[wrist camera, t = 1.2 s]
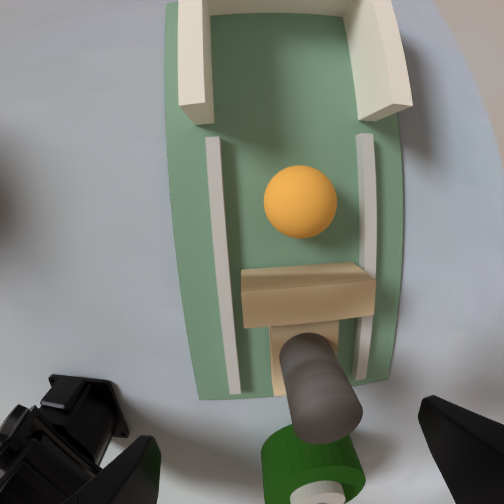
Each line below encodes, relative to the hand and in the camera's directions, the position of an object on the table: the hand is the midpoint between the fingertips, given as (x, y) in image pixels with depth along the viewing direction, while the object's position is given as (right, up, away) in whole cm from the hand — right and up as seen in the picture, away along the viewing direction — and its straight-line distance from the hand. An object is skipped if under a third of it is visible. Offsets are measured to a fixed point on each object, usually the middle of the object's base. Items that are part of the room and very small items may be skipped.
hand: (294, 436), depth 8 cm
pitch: (+1, +10, +10) cm, 14 cm away
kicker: (+2, +1, +12) cm, 12 cm away
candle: (+4, -12, +16) cm, 20 cm away
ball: (+1, +8, +8) cm, 12 cm away
